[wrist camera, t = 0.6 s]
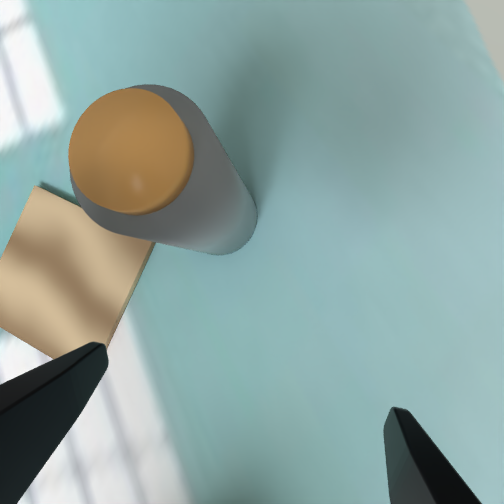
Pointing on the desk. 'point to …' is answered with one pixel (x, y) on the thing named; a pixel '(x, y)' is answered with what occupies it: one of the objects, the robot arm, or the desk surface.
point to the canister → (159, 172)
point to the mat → (66, 276)
